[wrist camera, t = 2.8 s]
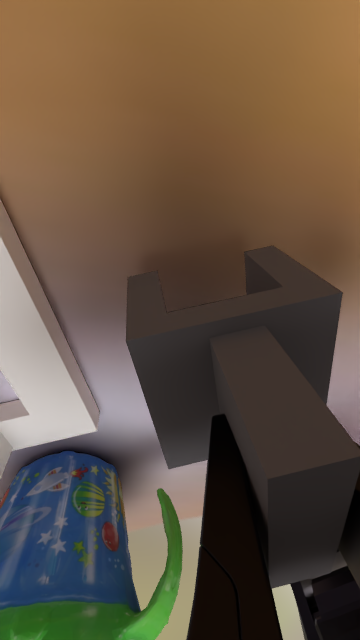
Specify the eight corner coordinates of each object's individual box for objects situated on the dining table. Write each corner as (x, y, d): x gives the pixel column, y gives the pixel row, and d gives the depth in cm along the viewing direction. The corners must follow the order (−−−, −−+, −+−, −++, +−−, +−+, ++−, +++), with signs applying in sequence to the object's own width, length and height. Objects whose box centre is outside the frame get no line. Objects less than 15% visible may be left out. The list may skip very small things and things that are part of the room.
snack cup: (151, 404, 19) (168, 616, 10) (184, 487, 25) (213, 671, 16) (-79, 466, 19) (-258, 736, 10) (6, 535, 24) (-62, 748, 16)
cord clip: (272, 358, 15) (409, 558, 8) (158, 385, 15) (185, 617, 7) (272, 245, 12) (506, 402, 4) (127, 277, 11) (122, 495, 4)
